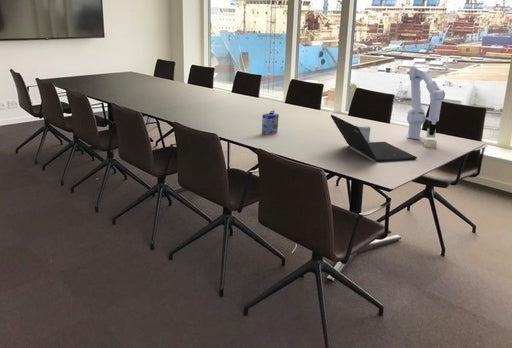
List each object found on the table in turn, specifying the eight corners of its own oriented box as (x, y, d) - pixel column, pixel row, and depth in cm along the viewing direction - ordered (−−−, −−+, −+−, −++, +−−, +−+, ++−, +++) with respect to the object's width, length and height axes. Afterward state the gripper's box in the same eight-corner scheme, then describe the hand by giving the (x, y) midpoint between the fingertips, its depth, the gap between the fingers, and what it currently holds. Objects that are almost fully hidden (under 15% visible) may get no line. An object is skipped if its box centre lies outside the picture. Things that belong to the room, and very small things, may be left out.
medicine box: (367, 139, 290) (368, 125, 288) (369, 141, 286) (370, 127, 283) (354, 139, 290) (355, 125, 287) (356, 141, 286) (357, 127, 283)
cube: (426, 135, 282) (427, 127, 281) (434, 136, 281) (435, 128, 279) (426, 137, 278) (427, 129, 276) (434, 137, 277) (436, 130, 275)
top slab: (423, 141, 284) (423, 137, 283) (433, 141, 283) (434, 138, 283) (425, 144, 278) (426, 140, 277) (436, 144, 278) (436, 141, 277)
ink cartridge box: (267, 135, 292) (268, 112, 287) (261, 133, 295) (261, 110, 291) (278, 132, 299) (279, 110, 294) (271, 131, 302) (272, 108, 298)
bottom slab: (423, 144, 285) (423, 141, 285) (435, 145, 284) (436, 142, 283) (423, 147, 279) (423, 143, 278) (435, 148, 277) (436, 145, 276)
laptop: (417, 160, 253) (422, 125, 247) (353, 164, 243) (357, 127, 237) (384, 143, 283) (388, 111, 277) (326, 146, 273) (329, 113, 267)
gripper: (427, 108, 282) (423, 130, 286) (427, 112, 269) (424, 136, 273) (439, 109, 280) (436, 131, 285) (441, 113, 267) (437, 137, 271)
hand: (431, 134), depth 279 cm, fingers closed on cube, 4 cm apart
